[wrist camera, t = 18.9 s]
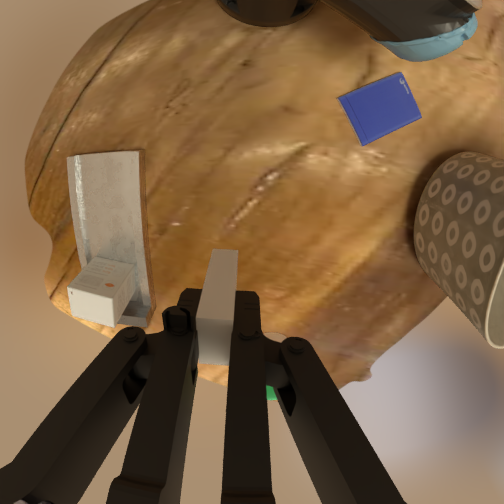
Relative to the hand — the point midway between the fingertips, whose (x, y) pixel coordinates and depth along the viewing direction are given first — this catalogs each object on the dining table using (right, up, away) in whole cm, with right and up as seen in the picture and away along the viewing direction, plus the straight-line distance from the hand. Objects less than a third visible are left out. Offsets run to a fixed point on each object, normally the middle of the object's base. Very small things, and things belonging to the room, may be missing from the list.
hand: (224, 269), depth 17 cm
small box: (-22, -3, +28) cm, 36 cm away
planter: (+40, +8, +26) cm, 48 cm away
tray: (-22, +4, +27) cm, 35 cm away
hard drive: (+21, +23, +19) cm, 37 cm away
